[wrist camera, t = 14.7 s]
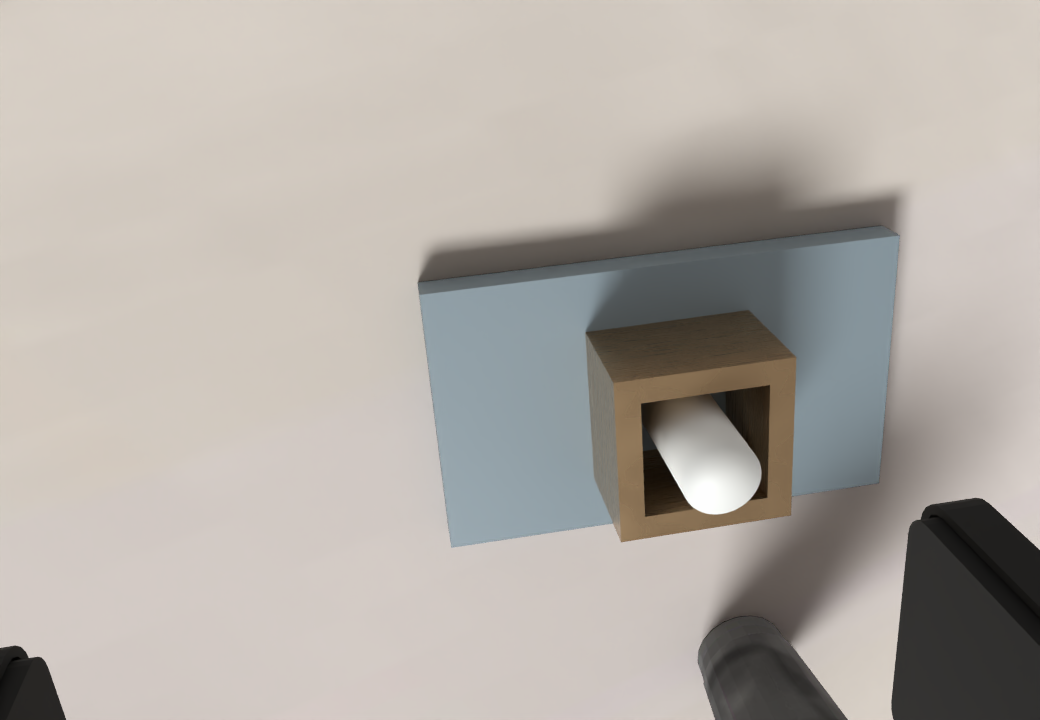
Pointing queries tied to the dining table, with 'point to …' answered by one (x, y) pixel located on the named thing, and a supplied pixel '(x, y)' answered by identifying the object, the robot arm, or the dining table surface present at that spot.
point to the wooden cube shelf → (676, 374)
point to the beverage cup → (760, 675)
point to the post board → (548, 378)
